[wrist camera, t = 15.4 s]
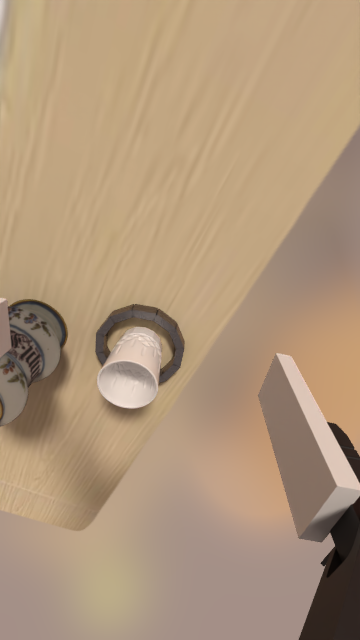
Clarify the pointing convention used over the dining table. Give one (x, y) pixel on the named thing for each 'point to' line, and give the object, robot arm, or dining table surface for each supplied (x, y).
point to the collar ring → (147, 314)
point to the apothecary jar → (28, 353)
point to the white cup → (132, 369)
